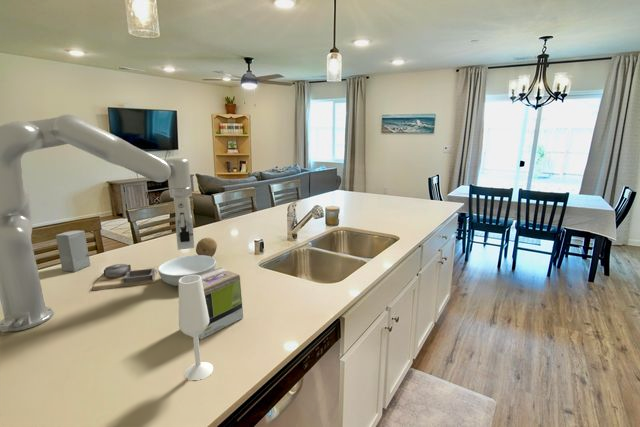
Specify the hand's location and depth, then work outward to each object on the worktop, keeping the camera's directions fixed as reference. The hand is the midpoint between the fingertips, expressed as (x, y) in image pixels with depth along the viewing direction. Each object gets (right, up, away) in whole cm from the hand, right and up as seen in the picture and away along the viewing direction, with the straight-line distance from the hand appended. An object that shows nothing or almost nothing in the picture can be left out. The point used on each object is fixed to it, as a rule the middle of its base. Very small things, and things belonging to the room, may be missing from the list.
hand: (185, 239), depth 128 cm
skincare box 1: (-53, -14, +16) cm, 57 cm away
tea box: (+19, -24, -26) cm, 40 cm away
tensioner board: (-25, -16, +5) cm, 30 cm away
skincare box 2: (0, -3, +1) cm, 4 cm away
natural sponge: (-1, -11, +26) cm, 29 cm away
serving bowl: (0, -17, +4) cm, 17 cm away
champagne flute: (+22, -29, -46) cm, 59 cm away
